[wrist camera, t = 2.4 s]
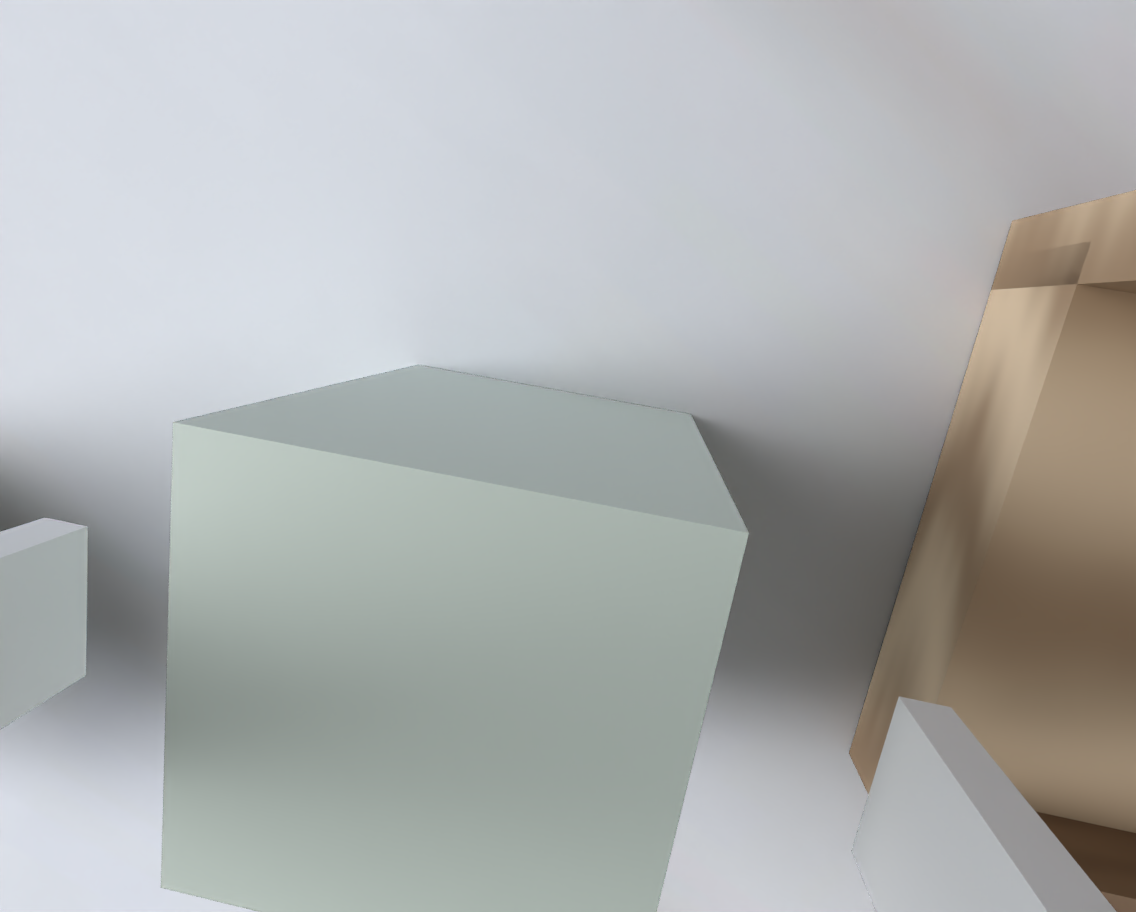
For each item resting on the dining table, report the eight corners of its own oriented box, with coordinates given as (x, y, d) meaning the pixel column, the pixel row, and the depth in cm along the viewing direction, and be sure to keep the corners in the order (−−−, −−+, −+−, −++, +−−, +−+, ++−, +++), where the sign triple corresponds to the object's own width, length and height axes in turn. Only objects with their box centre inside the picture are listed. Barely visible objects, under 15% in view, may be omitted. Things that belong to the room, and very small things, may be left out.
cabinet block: (418, 364, 17) (172, 422, 8) (690, 413, 16) (748, 533, 7) (386, 651, 19) (158, 952, 10) (629, 702, 18) (618, 1067, 9)
